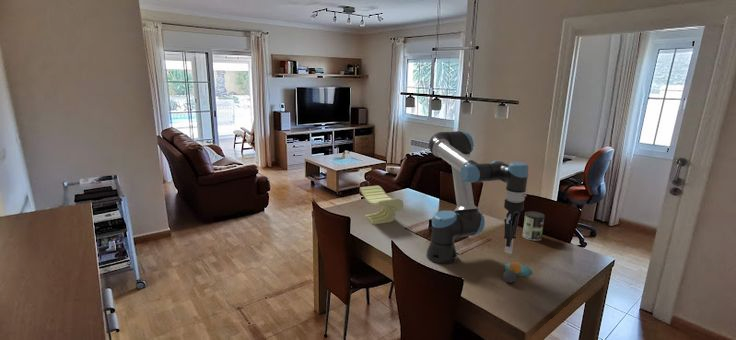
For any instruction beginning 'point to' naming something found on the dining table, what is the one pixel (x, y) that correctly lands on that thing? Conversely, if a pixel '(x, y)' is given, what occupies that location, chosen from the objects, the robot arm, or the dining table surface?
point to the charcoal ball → (510, 276)
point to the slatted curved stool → (381, 204)
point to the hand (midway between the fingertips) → (508, 252)
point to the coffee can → (533, 225)
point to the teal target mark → (524, 271)
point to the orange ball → (515, 267)
